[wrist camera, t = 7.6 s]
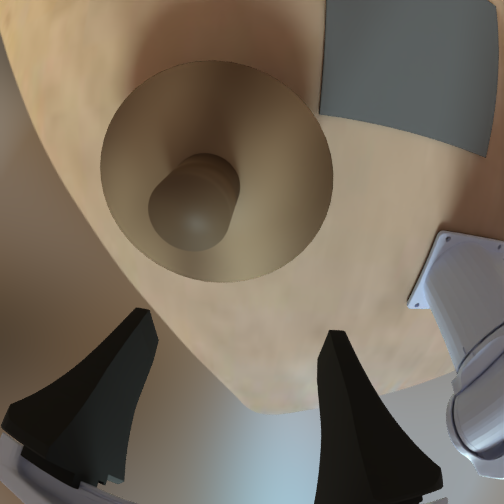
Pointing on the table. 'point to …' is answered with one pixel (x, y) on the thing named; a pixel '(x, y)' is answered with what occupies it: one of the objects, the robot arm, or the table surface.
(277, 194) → the lid
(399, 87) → the mat
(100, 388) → the robot arm
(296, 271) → the table surface
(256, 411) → the table surface
